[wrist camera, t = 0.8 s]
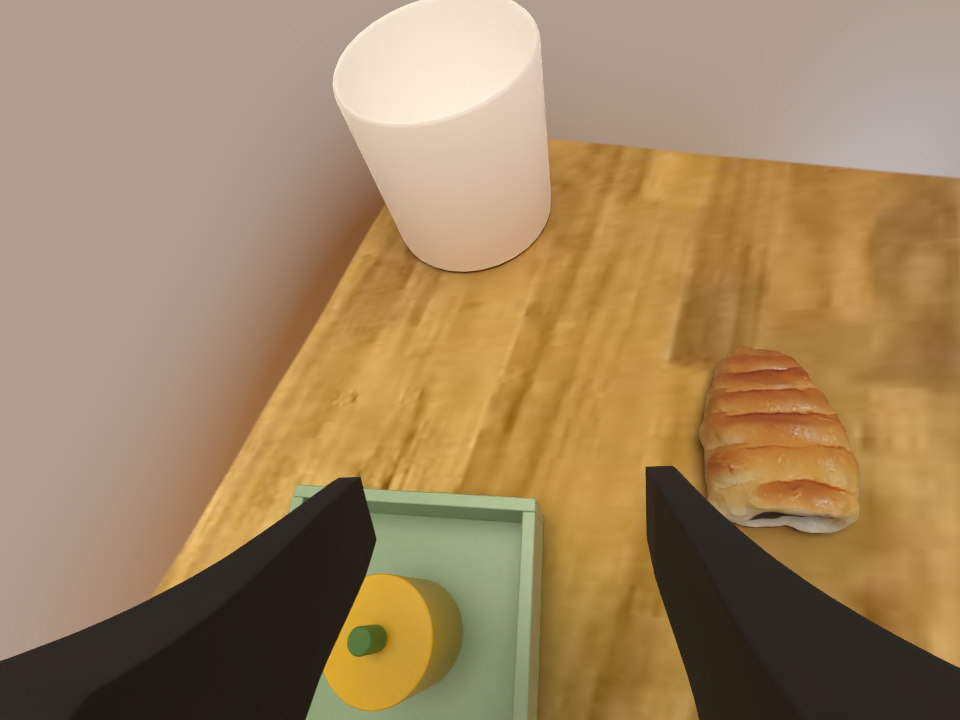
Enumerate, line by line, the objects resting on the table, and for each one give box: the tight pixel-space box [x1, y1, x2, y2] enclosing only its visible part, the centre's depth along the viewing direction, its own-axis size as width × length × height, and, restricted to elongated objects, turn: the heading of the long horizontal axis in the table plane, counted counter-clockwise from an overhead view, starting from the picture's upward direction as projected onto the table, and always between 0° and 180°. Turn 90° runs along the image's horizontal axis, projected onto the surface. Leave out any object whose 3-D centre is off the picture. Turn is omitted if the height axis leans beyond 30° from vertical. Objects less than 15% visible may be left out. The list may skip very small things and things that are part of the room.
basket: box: [289, 485, 544, 720], centre depth 22 cm, size 12×12×5 cm
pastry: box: [699, 347, 860, 533], centre depth 23 cm, size 9×7×4 cm
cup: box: [333, 0, 551, 272], centre depth 31 cm, size 12×12×12 cm
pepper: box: [323, 573, 462, 711], centre depth 21 cm, size 5×5×7 cm
